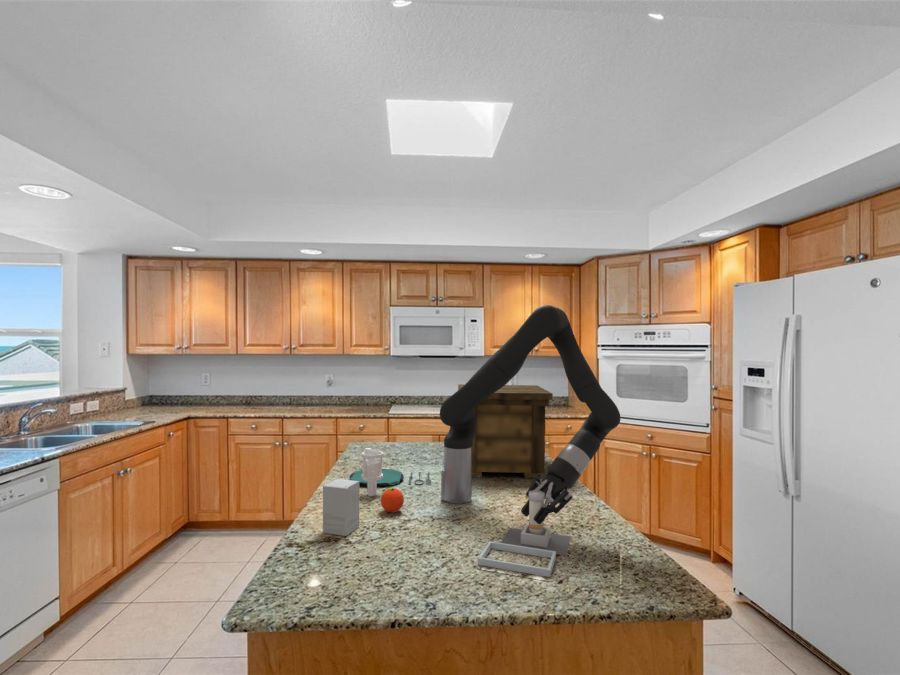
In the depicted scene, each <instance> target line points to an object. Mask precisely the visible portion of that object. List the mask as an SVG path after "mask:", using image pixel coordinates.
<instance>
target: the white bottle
mask: <svg viewBox="0 0 900 675" xmlns="http://www.w3.org/2000/svg"><path fill="white" fill-rule="evenodd" d="M545 500H546V499H545V493H544V492H542V491H529V515H528V525H529V533H530V534H537V535H544V534H543V528H544V527H545V526H544V525H545V524H544V521H543V522H542V523H541V524H538V523H536V522H535V521H534V517H535V515H536V514H537V513H538V511H539V510H540V509H541V507H543V505H544V503H545ZM543 508H544V507H543Z"/></svg>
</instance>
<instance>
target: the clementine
mask: <svg viewBox="0 0 900 675" xmlns="http://www.w3.org/2000/svg"><path fill="white" fill-rule="evenodd" d="M404 502H405V497H404V495H403V493H402V491H400V489H398V488H395V487H387V488H385V489H383V492H382V494H381V496H380V505H381V507H382V509H383V510H384V511H386V512H387V513H396V512H398V511H400V509H401V508H403V505H404Z"/></svg>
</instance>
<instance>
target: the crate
mask: <svg viewBox="0 0 900 675" xmlns="http://www.w3.org/2000/svg"><path fill="white" fill-rule="evenodd" d="M465 384H466V383H465ZM465 384H462V383H461V384H460V383H459V384H457V391H458V390H459V389H461V388H462V387H463V386H464V385H465ZM553 395H554V394H553V392H551V391H548V390H547V389H544V388H542V387H541V386H539V385H535V384H534V385H533V384H532V385H531V384H530V385H522V384H520V385H519V384H517V385H516V384H515V385H514V384H510V385H509V384H506V385H504V386H503V387H502V388H501V389H499V390H498V391H496V392H495V393H493V394H491V395H490V396H488V397H486V398H485V399H483V400H482V401H480V402H479V403H478V404H477V405H476V406H475V411H476V420H475V435H474V439H473V441H472V478H482V477H483V473H522V476H523V477H524V478H525V477H526V478H525V479H531V478H530V477H534V478H535V477H538V474H539V475H545V465H546V463H545V462H546V453H545V452H546V437H545V436H546V407H547V406H548V407H549V405H550V401H553V400H554V398H553V397H554V396H553ZM534 478H533V479H534Z"/></svg>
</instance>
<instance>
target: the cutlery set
mask: <svg viewBox="0 0 900 675" xmlns="http://www.w3.org/2000/svg"><path fill="white" fill-rule="evenodd" d="M362 474H363V469H359V470H354V471H353V472H352V473H350V475H349V480H352V481H359V485H363V486H367V485H368V481H365V480H362ZM382 474H383V479H381V480H377V486H387V485H390V486H394V485H399V483H400V482H401V481H403V479H404V476H405V475H404V474H403V473H402V471H401V470H397V469H393V468H389V469H387V468H382ZM421 475H422V472H421V471H418V479H416V480H415V481H414V484H415V485H418V486H420V485H423V484H424V480H422V479H421ZM408 479H409V480H408V485H409V486H411V484H412V480H413V472H410V476H409V478H408ZM418 482H421V483H418ZM431 483H432V479H431V478H430V472H429V471H427V478H426V479H425V485H426V486H431V485H432V484H431Z"/></svg>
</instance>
